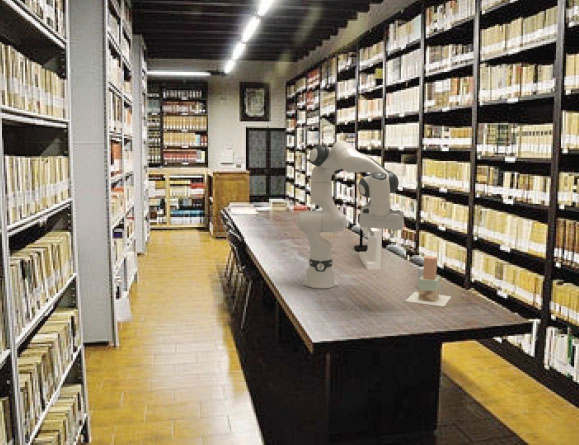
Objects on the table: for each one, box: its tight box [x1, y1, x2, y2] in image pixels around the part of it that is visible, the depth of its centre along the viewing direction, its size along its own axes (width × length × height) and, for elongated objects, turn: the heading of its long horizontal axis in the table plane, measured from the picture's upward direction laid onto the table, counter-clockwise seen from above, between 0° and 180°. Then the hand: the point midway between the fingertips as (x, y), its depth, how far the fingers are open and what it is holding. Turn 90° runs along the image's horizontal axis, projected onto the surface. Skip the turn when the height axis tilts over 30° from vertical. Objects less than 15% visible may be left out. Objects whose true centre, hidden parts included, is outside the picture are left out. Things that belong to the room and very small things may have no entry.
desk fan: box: [353, 199, 371, 252], centre depth 381 cm, size 27×18×35 cm, turn 1°
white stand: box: [358, 225, 383, 270], centre depth 341 cm, size 35×8×28 cm, turn 0°
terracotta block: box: [423, 255, 438, 280], centre depth 262 cm, size 5×5×10 cm
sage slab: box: [418, 276, 441, 292], centre depth 264 cm, size 8×8×5 cm
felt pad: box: [404, 291, 452, 308], centre depth 265 cm, size 18×18×1 cm
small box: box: [416, 266, 424, 289], centre depth 285 cm, size 8×6×10 cm
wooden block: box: [418, 288, 440, 302], centre depth 264 cm, size 8×8×5 cm
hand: (382, 236), depth 254 cm, fingers open, 8 cm apart
